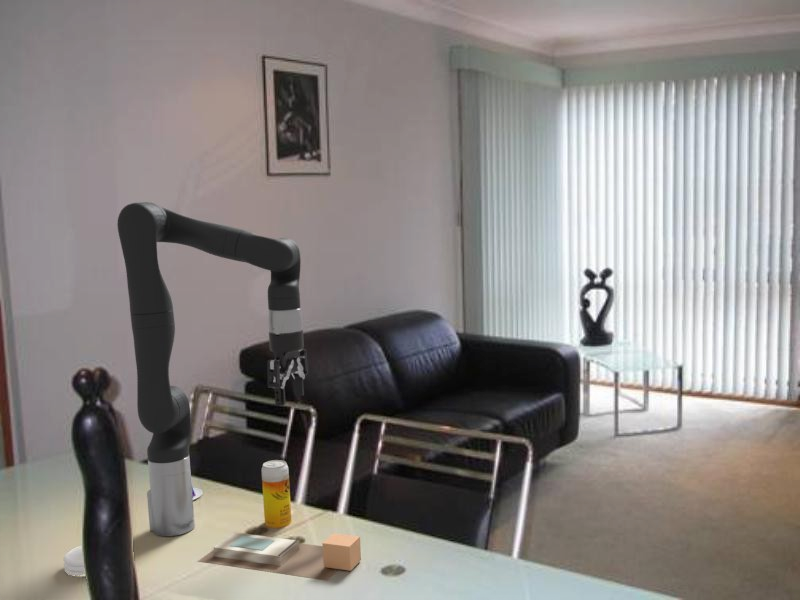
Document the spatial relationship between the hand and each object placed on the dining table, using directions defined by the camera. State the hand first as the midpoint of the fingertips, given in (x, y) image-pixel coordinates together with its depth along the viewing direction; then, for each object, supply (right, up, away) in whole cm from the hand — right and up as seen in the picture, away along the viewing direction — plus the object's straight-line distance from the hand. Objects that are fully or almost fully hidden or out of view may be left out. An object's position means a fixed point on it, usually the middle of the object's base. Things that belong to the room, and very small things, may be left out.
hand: (290, 400), depth 188 cm
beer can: (-3, -30, +6) cm, 31 cm away
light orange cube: (+13, -31, -18) cm, 38 cm away
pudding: (-32, -29, +28) cm, 51 cm away
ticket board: (-1, -32, -12) cm, 34 cm away
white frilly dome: (-40, -34, -12) cm, 54 cm away
